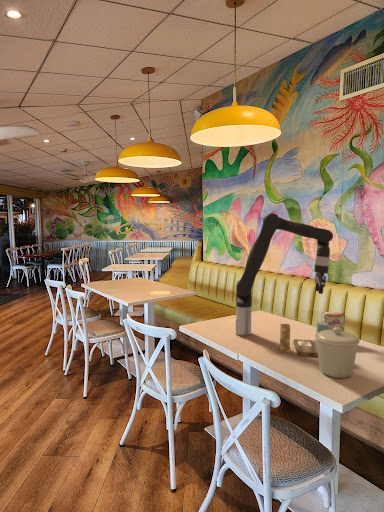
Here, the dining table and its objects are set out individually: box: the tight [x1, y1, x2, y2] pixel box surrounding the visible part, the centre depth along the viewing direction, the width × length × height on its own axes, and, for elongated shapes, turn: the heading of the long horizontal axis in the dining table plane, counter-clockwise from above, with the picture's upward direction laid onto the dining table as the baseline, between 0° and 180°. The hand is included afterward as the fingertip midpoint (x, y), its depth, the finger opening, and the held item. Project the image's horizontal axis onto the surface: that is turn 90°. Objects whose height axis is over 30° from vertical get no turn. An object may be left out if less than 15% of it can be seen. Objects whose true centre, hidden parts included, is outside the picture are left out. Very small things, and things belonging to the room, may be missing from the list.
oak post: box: [279, 323, 291, 354], centre depth 172 cm, size 4×4×14 cm
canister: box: [314, 327, 361, 379], centre depth 147 cm, size 18×18×21 cm
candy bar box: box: [321, 311, 346, 331], centre depth 186 cm, size 11×5×16 cm, turn 84°
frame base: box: [292, 321, 328, 358], centre depth 174 cm, size 16×18×16 cm
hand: (318, 292), depth 190 cm, fingers open, 8 cm apart
